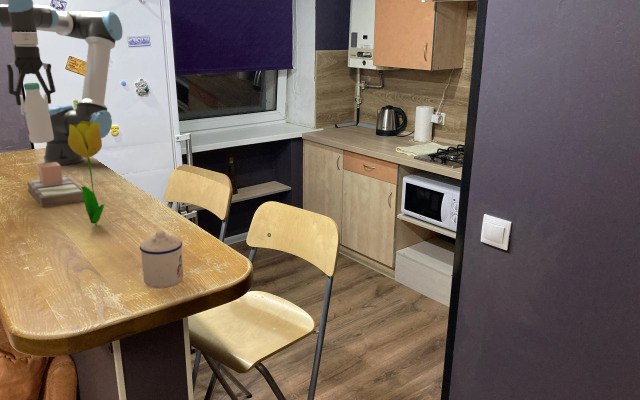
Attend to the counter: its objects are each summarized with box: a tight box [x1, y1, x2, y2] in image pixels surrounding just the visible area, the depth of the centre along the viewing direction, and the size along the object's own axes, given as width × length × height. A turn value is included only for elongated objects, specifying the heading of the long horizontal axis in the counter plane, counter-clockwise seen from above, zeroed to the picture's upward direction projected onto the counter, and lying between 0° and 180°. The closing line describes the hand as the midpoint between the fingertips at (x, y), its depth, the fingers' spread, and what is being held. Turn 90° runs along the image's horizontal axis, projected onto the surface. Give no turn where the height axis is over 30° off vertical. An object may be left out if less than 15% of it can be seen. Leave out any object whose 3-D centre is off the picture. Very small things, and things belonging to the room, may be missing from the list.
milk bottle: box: [23, 82, 54, 144], centre depth 185 cm, size 8×8×20 cm
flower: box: [68, 121, 105, 226], centre depth 149 cm, size 9×8×30 cm
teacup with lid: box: [139, 230, 184, 289], centre depth 120 cm, size 12×9×12 cm
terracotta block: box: [37, 162, 63, 185], centre depth 184 cm, size 6×6×6 cm
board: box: [27, 175, 84, 208], centre depth 181 cm, size 24×13×3 cm, turn 37°
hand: (35, 113), depth 187 cm, fingers closed on milk bottle, 7 cm apart
